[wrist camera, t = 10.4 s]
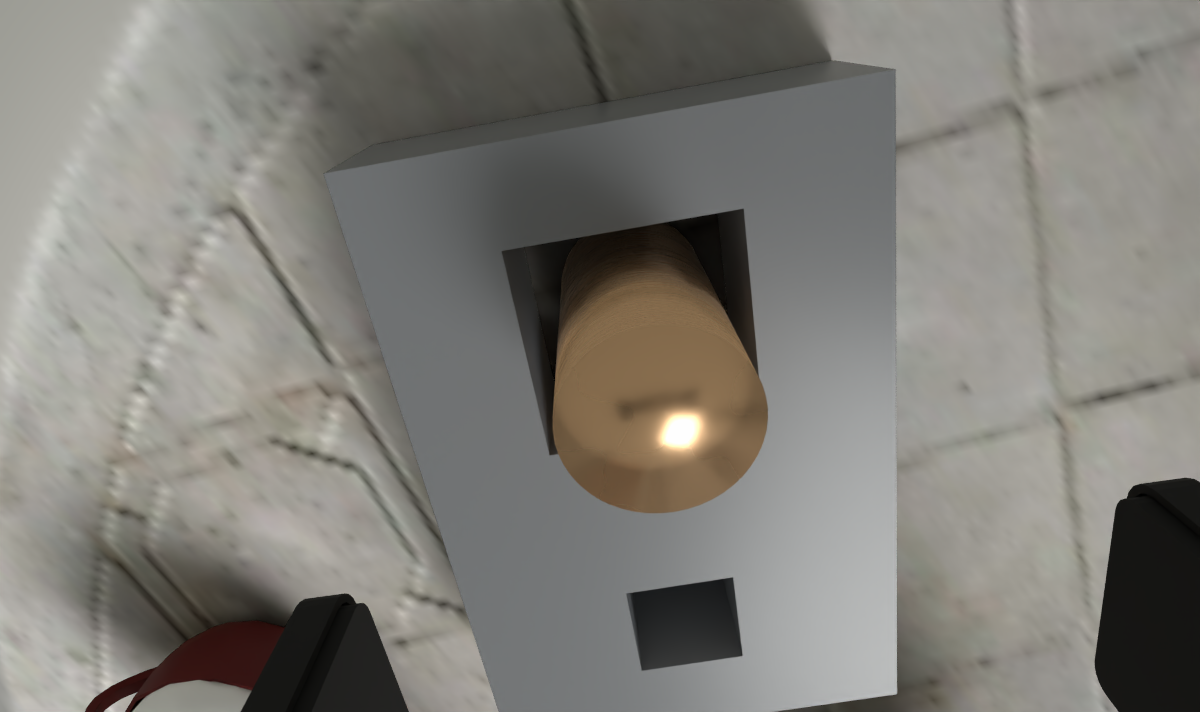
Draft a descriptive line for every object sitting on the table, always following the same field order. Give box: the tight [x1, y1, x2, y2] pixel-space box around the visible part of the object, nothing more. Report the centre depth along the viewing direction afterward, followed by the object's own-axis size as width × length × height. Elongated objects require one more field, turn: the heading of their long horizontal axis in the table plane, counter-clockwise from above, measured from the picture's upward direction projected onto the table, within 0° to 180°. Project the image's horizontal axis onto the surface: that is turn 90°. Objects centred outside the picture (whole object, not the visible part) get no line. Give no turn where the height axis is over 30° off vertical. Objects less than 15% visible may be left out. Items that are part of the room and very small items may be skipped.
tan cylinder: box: [553, 222, 768, 513], centre depth 17 cm, size 4×4×8 cm
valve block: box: [324, 61, 897, 712], centre depth 21 cm, size 12×18×4 cm, turn 10°
